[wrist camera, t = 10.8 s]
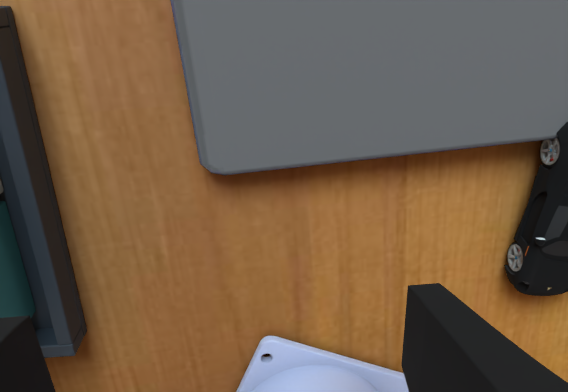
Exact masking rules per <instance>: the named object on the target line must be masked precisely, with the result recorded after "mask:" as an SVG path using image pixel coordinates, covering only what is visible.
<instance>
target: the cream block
mask: <svg viewBox="0 0 568 392" xmlns="http://www.w3.org/2000/svg"><path fill="white" fill-rule="evenodd" d="M3 190H4V189H3V186H2V182H1V179H0V194H1V193H2V192H3Z"/></svg>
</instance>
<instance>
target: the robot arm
mask: <svg viewBox="0 0 568 392" xmlns="http://www.w3.org/2000/svg"><path fill="white" fill-rule="evenodd" d="M263 354H270V356H268V357H264V356H262V355H263ZM402 368H403V372H404V373H401V372H397V371H394V370H390V369H387V368H383V367H380V366H377V365H373V364H370V363H366V362H363V361H359V360H356V359H352V358H349V357H345V356H342V355H339V354H335V353H332V352H328V351H325V350H321V349H318V348H314V347H311V346H307V345H304V344H301V343H297V342H294V341H290V340H287V339H283V338H280V337H276V336H266V337H264V338H263V339H262V340H261V341H260V343H259V345H258V347H257V349H256V351H255V353H254V356H253V358H252V360H251V362H250V364H249V366H248V368H247V370H246V372H245V374H244V376H243V378H242V381H241V383H240V385H239V387H238V389H237V391H236V392H568V383H567V382H566V381H564V380H563V379H561V378H560V377H558V376H557V375H556V374H554V373H553V372H551V371H550V370H549V369H547V368H546V367H545V366H543V365H542V364H541V363H539V362H538V361H536V360H535V359H534V358H532V357H531V356H530V355H528V354H527V353H526V352H524V351H523V350H522V349H521V348H519V347H518V346H517V345H515V344H514V343H513V342H511V341H510V340H509V339H508V338H506V337H505V336H504V335H503V334H501V333H500V332H499V331H498V330H496V329H495V328H494V327H492V326H491V325H490V324H489V323H488V322H486V321H485V320H484V319H483V318H481V317H480V316H479V315H478V314H476V313H475V312H474V311H473V310H472V309H470V308H469V307H468V306H467V305H466V304H464V303H463V302H462V301H461V300H459V299H458V298H457V297H456V296H455V295H453V294H452V293H451V292H450V291H448V290H447V289H446V288H445V287H443V286H442V285H441V284H439V283H436V284H423V285H410V286H408V293H407V305H406V317H405V330H404V342H403V354H402ZM0 392H55V389H54V386H53V383H52V380H51V377H50V374H49V371H48V368H47V365H46V362H45V359H44V356H43V353H42V350H41V347H40V344H39V341H38V339H37V336H36V333H35V330H34V327H33V324H32V321H31V318H30V315H29V316H16V317H3V318H0Z"/></svg>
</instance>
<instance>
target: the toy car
mask: <svg viewBox="0 0 568 392" xmlns="http://www.w3.org/2000/svg"><path fill="white" fill-rule="evenodd" d="M556 134H557V136H558V137H557V138H555V139H549V140H543V141H542V144H541V147H540V158H541V161H542V163H543V165H541V164H540V167H539V170H538V173H537V176H536V177H535V180H534V184H533V188H532V191H531V195H530V198H529V202H528V205H527V207H526V210H525V212H524V215H523V217H522V220H521V222H520V225H519V227H518V230H517V232H516V235H515V237H514V239H515V240H516V241H517V242H514V243H512V244H511V245H510V247H509V249H508V253H507V261H508V265H505V271H506V274H507V277H508V279H509V281H510V282H511V283H512V284H513V285H514V287H515V288H516V289H517V290H518V291H519V292H521V293H523V294H527V295H535V296H551V295H558V294H562V293H565V292H568V122H566V123H565V124H564V125H563V126H562V127H561V128H560V130H559V131H558V132H557V133H556Z"/></svg>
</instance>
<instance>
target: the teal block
mask: <svg viewBox="0 0 568 392" xmlns="http://www.w3.org/2000/svg"><path fill="white" fill-rule="evenodd" d="M35 311H36V308H35V305H34V301H33V298H32V294H31V291H30V287H29V283H28V280H27V276H26V273H25V269H24V266H23V262H22V258H21V255H20V251H19V248H18V244H17V241H16V237H15V233H14V230H13V226H12V223H11V219H10V216H9V212H8V209H7V205H6V202H5V201H0V318H3V317H16V316H29V315H30V318H31V317H32V316H33V314H34V313H35Z"/></svg>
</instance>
